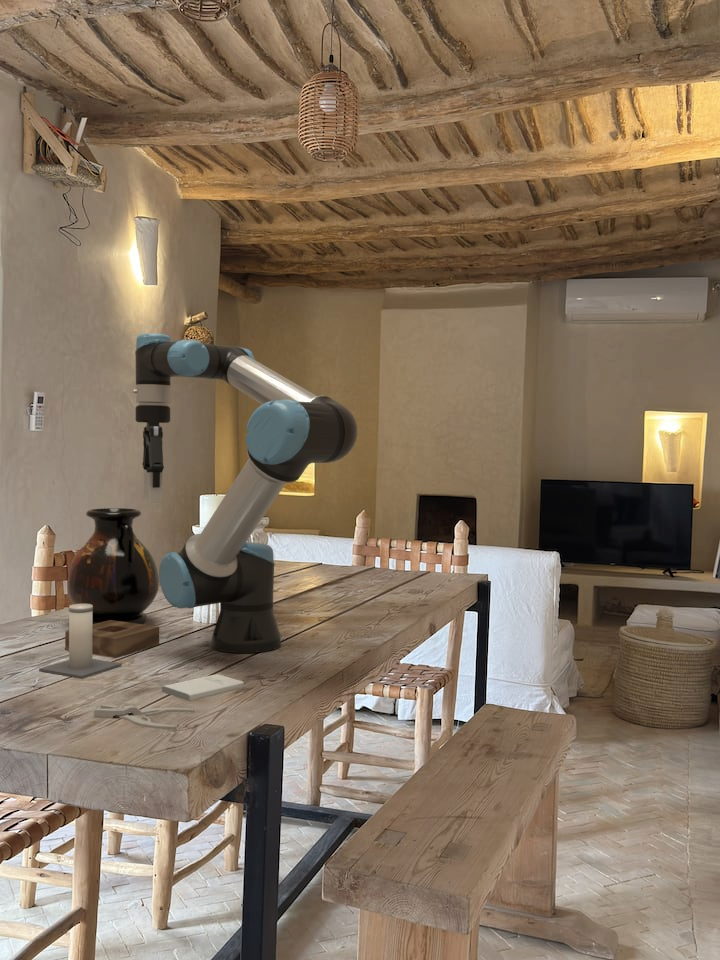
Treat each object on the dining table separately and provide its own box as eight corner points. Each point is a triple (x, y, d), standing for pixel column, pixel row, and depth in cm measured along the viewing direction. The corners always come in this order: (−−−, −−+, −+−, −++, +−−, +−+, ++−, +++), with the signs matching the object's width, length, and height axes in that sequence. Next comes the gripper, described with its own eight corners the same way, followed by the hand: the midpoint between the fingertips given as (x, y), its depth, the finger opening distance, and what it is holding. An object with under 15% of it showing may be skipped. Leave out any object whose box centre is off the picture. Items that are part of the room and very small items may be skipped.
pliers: (174, 721, 143) (84, 715, 145) (174, 731, 143) (84, 725, 145) (194, 703, 153) (110, 698, 155) (194, 712, 153) (110, 707, 155)
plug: (97, 664, 180) (97, 605, 179) (81, 669, 176) (81, 608, 175) (80, 661, 182) (80, 602, 181) (63, 666, 178) (63, 606, 177)
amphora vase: (174, 627, 219) (174, 511, 217) (87, 638, 205) (88, 515, 204) (135, 612, 236) (136, 505, 234) (53, 622, 222) (53, 508, 221)
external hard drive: (161, 694, 164) (215, 681, 173) (189, 703, 158) (244, 689, 168) (161, 685, 164) (215, 672, 173) (189, 694, 158) (244, 681, 168)
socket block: (159, 644, 200) (159, 626, 200) (115, 657, 188) (115, 638, 188) (110, 637, 207) (110, 619, 206) (65, 649, 194) (65, 631, 194)
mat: (121, 665, 181) (121, 663, 181) (81, 678, 171) (81, 676, 171) (80, 659, 186) (80, 656, 186) (39, 671, 176) (39, 668, 176)
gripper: (131, 405, 211) (130, 496, 212) (140, 402, 187) (139, 505, 188) (164, 406, 213) (163, 496, 214) (177, 403, 189) (176, 504, 190)
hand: (152, 500), depth 201 cm, fingers open, 13 cm apart
